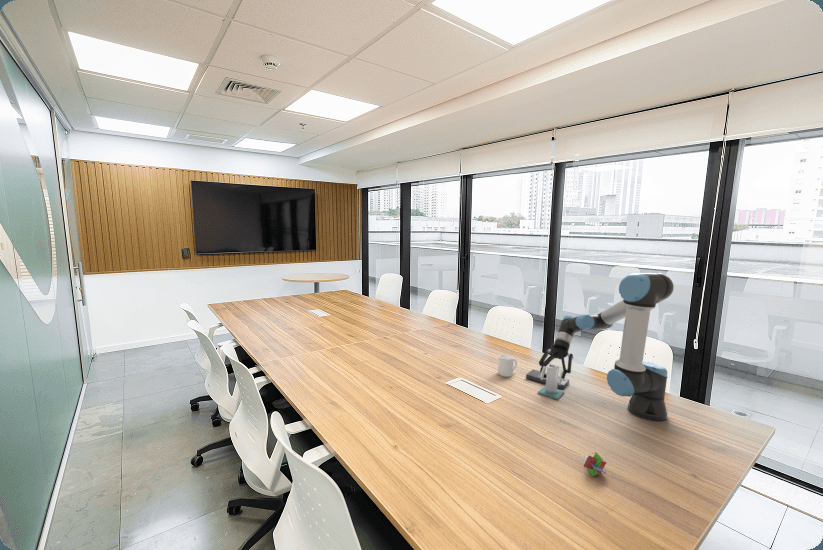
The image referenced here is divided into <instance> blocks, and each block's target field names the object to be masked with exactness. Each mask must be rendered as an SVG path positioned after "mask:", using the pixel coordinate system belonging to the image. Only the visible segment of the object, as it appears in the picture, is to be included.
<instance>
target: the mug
mask: <svg viewBox="0 0 823 550" xmlns="http://www.w3.org/2000/svg"><path fill="white" fill-rule="evenodd" d="M517 364H518V362H517V360H516V358H514V356H513V355H510V354H499V355H498V365H497V373H498V375H499V376H501V377H504V378H505V377H507V378H509V377H512V376H513V374H514V370H516V368H517V366H518V365H517Z"/></svg>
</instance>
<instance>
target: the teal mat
mask: <svg viewBox="0 0 823 550" xmlns="http://www.w3.org/2000/svg"><path fill="white" fill-rule="evenodd" d="M545 390H546V385H544V386H542V387H541V388H540V389H539V390H538V391H537V395H540V396H544V397H546V398H550V399H553V400H557V401H559V400H560V399H561V397H562V396H563V395H564V394H565V391H564V390H562V389H559V388H557V392H556V393H555V394H551V393H548V392H545Z"/></svg>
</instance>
